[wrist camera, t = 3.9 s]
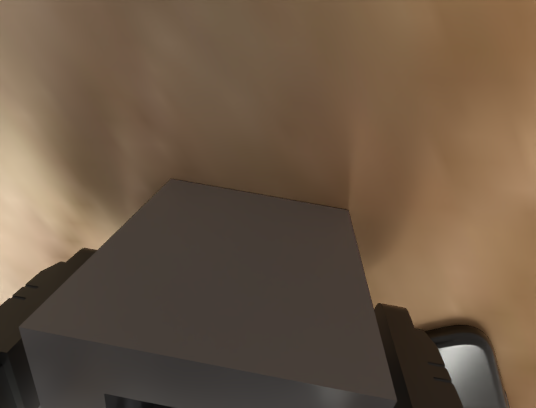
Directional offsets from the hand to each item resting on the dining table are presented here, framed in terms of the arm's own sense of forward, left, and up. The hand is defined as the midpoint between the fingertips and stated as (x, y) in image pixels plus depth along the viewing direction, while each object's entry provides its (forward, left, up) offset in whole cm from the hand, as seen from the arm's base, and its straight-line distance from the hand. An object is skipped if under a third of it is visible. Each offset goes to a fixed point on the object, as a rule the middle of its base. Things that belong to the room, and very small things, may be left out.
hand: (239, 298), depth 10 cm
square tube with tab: (0, 0, -2) cm, 2 cm away
